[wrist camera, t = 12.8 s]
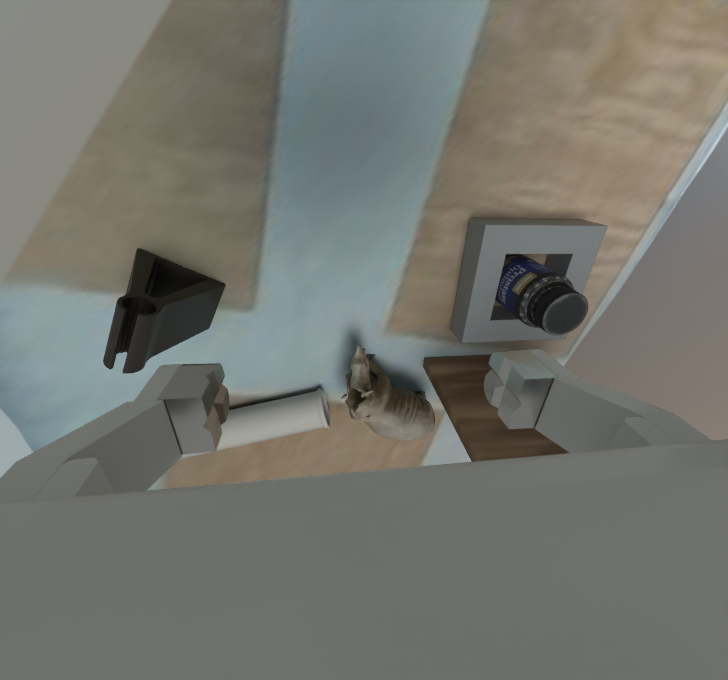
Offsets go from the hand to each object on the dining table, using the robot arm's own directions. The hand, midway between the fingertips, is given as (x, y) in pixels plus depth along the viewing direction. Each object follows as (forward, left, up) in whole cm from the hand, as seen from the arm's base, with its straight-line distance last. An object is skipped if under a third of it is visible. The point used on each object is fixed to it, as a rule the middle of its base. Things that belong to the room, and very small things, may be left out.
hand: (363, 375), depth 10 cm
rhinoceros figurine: (+21, +6, -29) cm, 37 cm away
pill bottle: (+7, +22, -29) cm, 38 cm away
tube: (+27, -13, -30) cm, 42 cm away
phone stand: (+8, -17, -29) cm, 35 cm away
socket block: (+7, +23, -29) cm, 38 cm away
